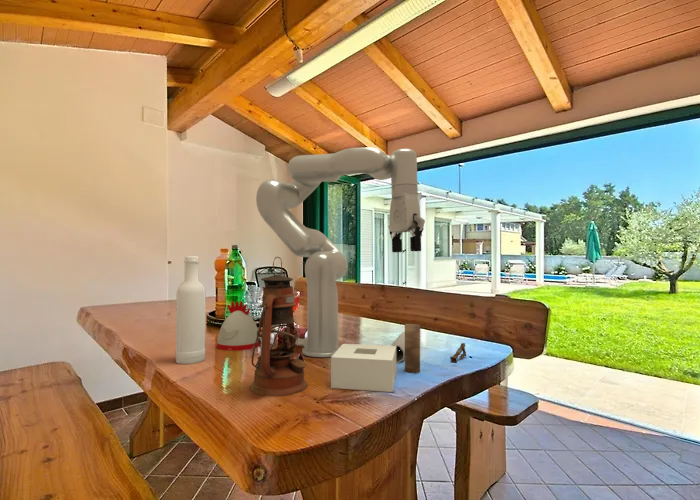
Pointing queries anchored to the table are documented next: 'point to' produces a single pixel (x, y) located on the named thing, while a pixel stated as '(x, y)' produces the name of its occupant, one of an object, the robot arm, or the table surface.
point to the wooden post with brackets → (459, 353)
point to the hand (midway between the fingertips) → (406, 251)
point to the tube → (400, 347)
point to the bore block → (364, 367)
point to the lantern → (278, 364)
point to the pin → (412, 348)
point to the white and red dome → (238, 330)
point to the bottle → (190, 316)
